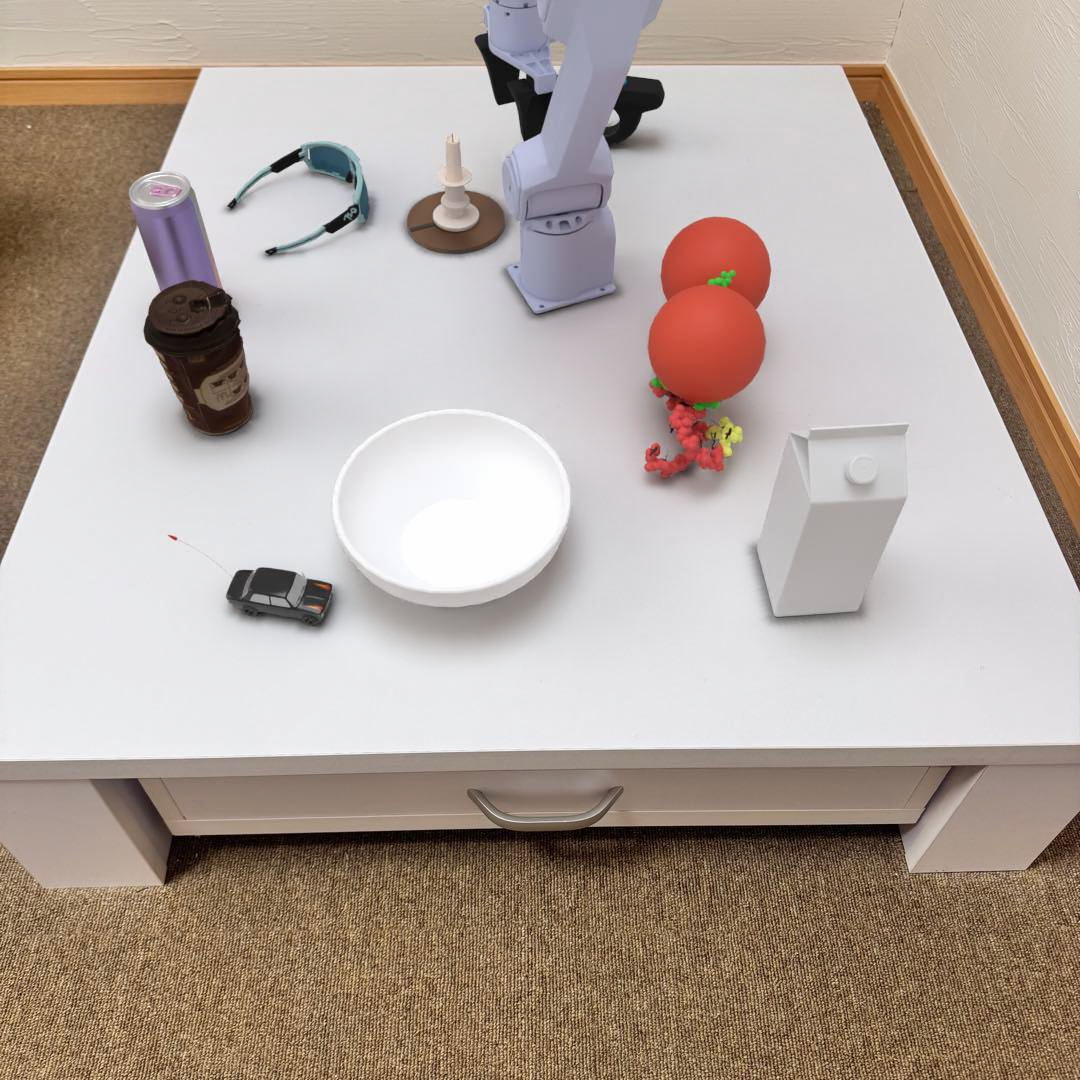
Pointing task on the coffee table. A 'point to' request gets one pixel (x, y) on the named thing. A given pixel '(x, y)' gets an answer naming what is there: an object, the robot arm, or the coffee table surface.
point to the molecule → (707, 334)
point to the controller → (634, 106)
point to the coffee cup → (202, 354)
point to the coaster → (455, 242)
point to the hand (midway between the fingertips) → (519, 120)
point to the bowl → (452, 507)
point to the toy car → (279, 593)
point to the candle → (454, 192)
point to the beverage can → (172, 229)
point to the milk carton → (832, 516)
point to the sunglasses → (325, 161)
